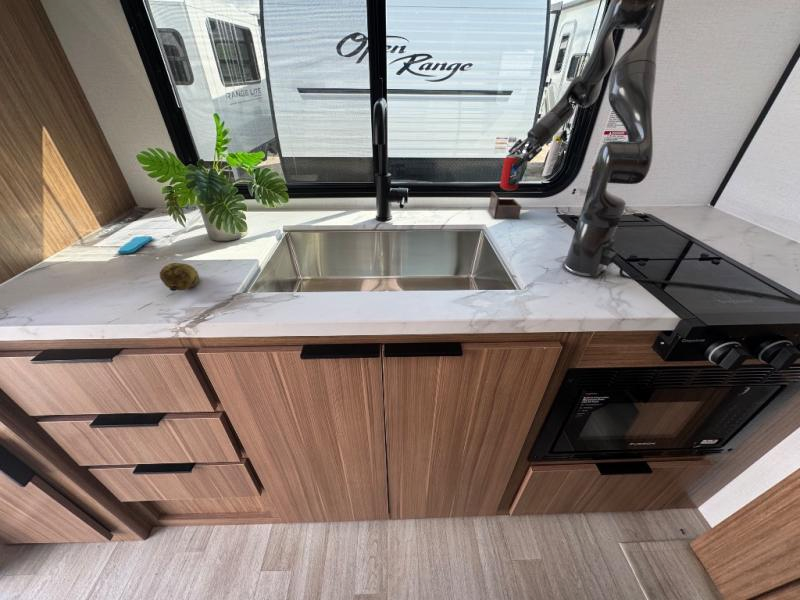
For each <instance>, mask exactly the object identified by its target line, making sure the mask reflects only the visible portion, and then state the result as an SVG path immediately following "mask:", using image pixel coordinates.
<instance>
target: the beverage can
mask: <svg viewBox="0 0 800 600" xmlns="http://www.w3.org/2000/svg"><path fill="white" fill-rule="evenodd" d="M516 154H517V153H516ZM516 154H509V153H508V154H507V155H506V156H505V158H504V159H503V161H504V164H503V163H502V164H503V165H502V170H501V171H502V172H501V177H500V183H499V184H500V185H499V187H500V188H501V189H502V190H505V191H515V190H516V189H518V188H519V184H520V179H521V173H522V168H523V164H522V165H521V166H520V167H519V168H518V169H517V170H515V169H514V168H513V167H512V165H513V164H514V163H515V162H516V161H517V160H518V159H519V158H521V156H522V155H516Z"/></svg>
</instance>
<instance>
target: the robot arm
mask: <svg viewBox="0 0 800 600" xmlns="http://www.w3.org/2000/svg"><path fill="white" fill-rule="evenodd" d="M665 2H666V1H665V0H610V3H609V5H608V7H607V11H606V13H605V15H604V18H603V21H602V23H601V25H600V26H601V27H600V29H599V32H598V33H597V37H596V40H595V42H594V45H593V49H592V51H591V53H590V55H589V57H588V59H587V61H586V63H585V64H584V67H583V69H582V70H581V73H580V74H579V75H576V76H575V77H574V78H573V79H572V80H571V81H570V83H569V84H568V86H567V89H566V90H565V91H564V93H563V95H562V96H561V98H560V99H559V100H558V101H557V103H556V104H554V106H553V107H552V108H551V109H550V110H549V111H548V112H547V113H546V114H544V116H542V117H541V118H540V119H539V120H538V121H537V122H536V123H535V124H534V125H533V126H532V127H531V128H530V129H529V130H528V132H527V133H526V134H527V137H526V138H525V139H524V140H522V139H521V138H520V139H518V140H517V141H516V142H515V143H514V144H513V146H511V148H510V149H509V150H508V155H509V154H516V155H522V156H521V158H519V159H518V160H517V161H516V162H515V163H514V164H513V165H512V167H513V168H514V169H515V170H517V169H518V168H519V167H520V166H521V165H522V166H523V164H524V163H526V162H527V163H530V162H531V161H532V160H534V159H535V157H537V156H538V155H539V154H540V153H541V152H542V151H543V147H544V146H545V145H546V144H547V143H548V142H549V141H550V140H551V139H552V138H553V137H554V136H555V135H556V134H557V133H558V132H559V131H560V129H561V128H562V127H563V126H564V125H565V124H567V122H568V121H569V120H570V119H571V118H572V117H573V116H574V114H575V109H574V107H573V105H572V103H571V101H570V99H571V100H572V102H574V103H575V104H576V105H578V106H579V108H582V109H583V108H584V109H585V108H589V107H590V106H592V105H593V104H594V103H595V102H596V100H597V99H598V98H599V96H600V93H601V90H602V86H603V83H604V78H605V76H606V75H607V74H608V72H609V70H610V68H611V67H612V65H613V63H614V59H615V55H616V50H615V44H614V40H613V32H614V30H615V29H616V30H637V31H638V35H637V38H636V39H635V40H634V41H633V43H632V44H631V45H630V46H629V48H628V49H627V50H626V51H625V52H624V53H623V54H622V56H621V57H620V58H619V59H618V61H617V62H616V63H615V65H614V66H613V68H612V70H611V71H610V72H611V73H610V78H609V87H608V97H607V99H608V102H609V106H610V108H611V110H612V112H613V113H614V114H615V116H616V117H617V119H618V121H620V123H621V124H622V126H623V128H624V129H625V132H626V134H627V141H624V140H623V141H622V140H611V141H606V142H604V144H602V146H601V147H600V148H599V150H598V151H597V154H596V157H595V161H594V164H593V169H592V171H591V176H590V180H589V184H588V187H587V190H586V194H585V199H584V201H583V205H582V208H581V211H580V215H579V217H578V219H577V223H576V227H575V230H574V233H573V237H572V239H571V242H570V245H569V249H568V252H567V255H566V258H565V261H564V263H563V268H564V269H565V270H566V271H568V272H569V273H571V274H574V275H578V276H582V277H590V278H593V279H594V278H596V277H597V276H598V275H600V273H602V272H603V270H604V269H605V266H606V267H608V266H610V265H611V264H612V263H614V264H615V265H617V266H618V268H619V271H618V274H619V276H621V277H623V278H627V279H631V280H635V281H641V282H651V283H658V284H666V285H676V286H677V285H678V286H687V287H688V286H689V287H690V286H691V287H697V288H706V289H715V290H723V291H729V292H736V293H742V294H748V295H749V294H750V295H756V296H760V297H765V298H766V297H767V298H772V299H777V300H782V301H788V302H792V303H797V304H800V299H796V298H791V297H786V296H782V295H775V294H771V293H766V292H759V291H754V290H747V289H740V288H733V287H726V286H720V285H718V286H717V285H711V284H703V283H702V284H701V283H694V282H693V283H692V282H685V281H684V282H683V281H673V280H662V279H661V280H660V279H655V278H642V277H633V276H629V275H626V274H625V273H624V272H623V271H624V266H623V265H622V264H621V263H620V262H619V261H618V260H616V256H617V255H618V252H616V251H613V250H612V247H613V245H614V243H615V240H614V237H615V235H616V231H617V229H618V226H619V223H620V221H621V220H622V219H621V218H622V216H623V214H624V211H625V209H626V205H627V203H626V201H625V200H624V199H623V198H621V197H619V196H617V195H615V194H612V193H611V192H609V191H608V190H607V188H608V184H617V185H636V184H640V183H641V182H643V181H644V180H645V179H646V177H647V176H648V174H649V172H650V170H651V166H652V162H653V157H654V156H653V154H654V137H653V106H654V105H653V104H654V94H655V86H656V76H657V59H658V58H657V55H658V43H659V35H660V28H661V23H662V17H663V11H664V8H665V7H664V6H665ZM502 164H504V160H502Z"/></svg>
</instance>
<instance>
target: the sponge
mask: <svg viewBox="0 0 800 600" xmlns="http://www.w3.org/2000/svg"><path fill="white" fill-rule="evenodd" d="M152 240H153V236H150V235H145V236H135V237H133V238H132V239H130V240H129V241H128V242H126V243H125V244H123V245H122V246H121V247H120V248H119V249H118V251H117V252H118V254H119V255H122V254H123V255H124V254H133V253H135V252H136V251H137V250H139V249H140V248H142V247H143V246H145V244H148V243H149V242H150V241H152Z"/></svg>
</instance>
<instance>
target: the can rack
mask: <svg viewBox="0 0 800 600" xmlns="http://www.w3.org/2000/svg"><path fill="white" fill-rule="evenodd" d="M489 198H490V199H489V205H488V212H489V214H490V215H491V216H492V218H493V219H494V220H496V219H497V220H499V219H500V220H518V219H519V218H520V214H521V209H522V205H520V203H519V202H517V201H516V199H515V198H499V196H498V195H497V194H496V193H495V192H494V191H490V197H489Z"/></svg>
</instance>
